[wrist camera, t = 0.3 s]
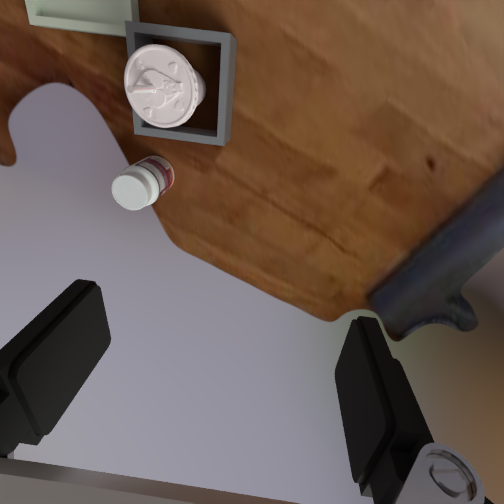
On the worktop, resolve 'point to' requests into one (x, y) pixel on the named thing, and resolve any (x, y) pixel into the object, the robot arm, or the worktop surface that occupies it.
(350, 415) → the robot arm
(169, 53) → the smoothie
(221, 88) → the grey square tube frame
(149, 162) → the pill bottle
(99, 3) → the tray
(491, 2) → the worktop surface
